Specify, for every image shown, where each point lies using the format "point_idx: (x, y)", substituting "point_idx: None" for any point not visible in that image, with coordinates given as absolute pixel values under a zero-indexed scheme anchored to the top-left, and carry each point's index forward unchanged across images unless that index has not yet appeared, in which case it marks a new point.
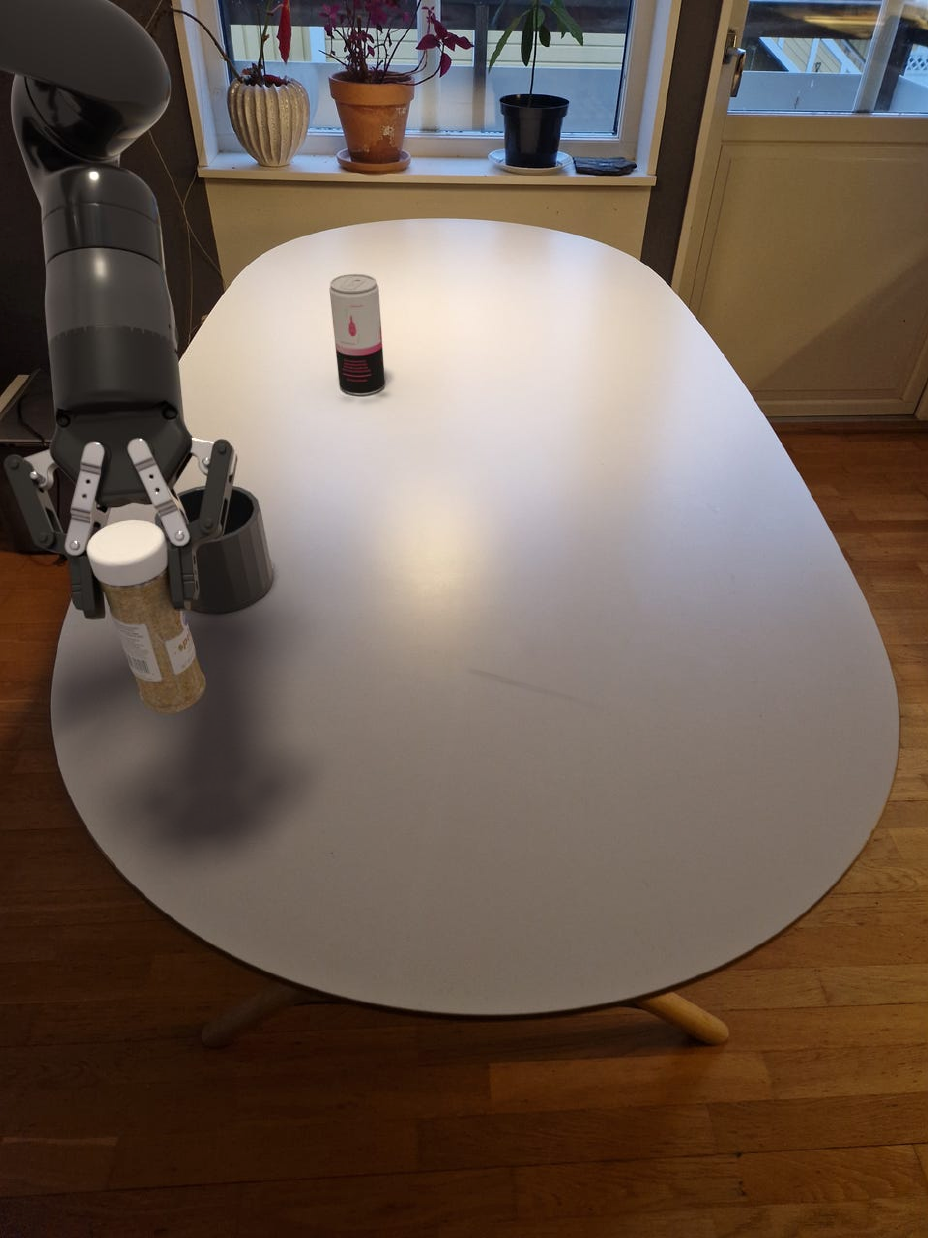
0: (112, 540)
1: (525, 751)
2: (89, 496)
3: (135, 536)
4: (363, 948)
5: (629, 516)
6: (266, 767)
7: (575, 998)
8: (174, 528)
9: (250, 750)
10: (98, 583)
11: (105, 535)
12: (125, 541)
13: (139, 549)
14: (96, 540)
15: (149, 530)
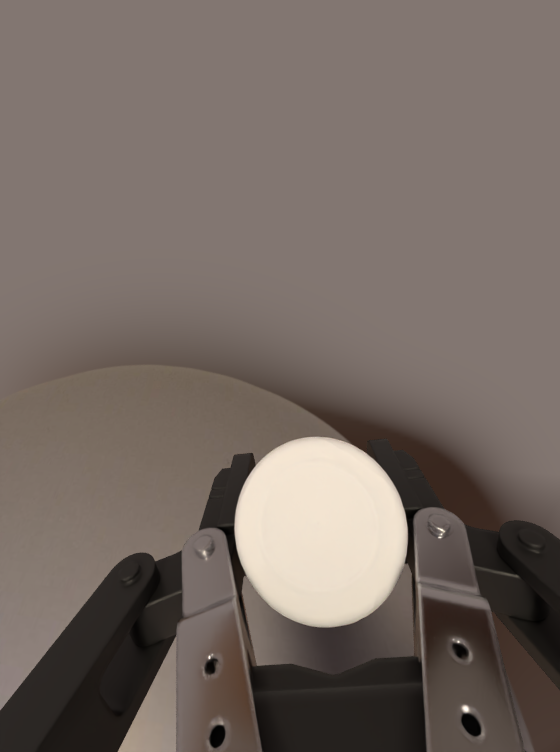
0: (346, 521)
1: (77, 549)
2: (441, 649)
3: (296, 534)
4: (212, 397)
5: None
6: None
7: (111, 368)
8: (209, 562)
9: None
10: None
11: (369, 543)
12: (314, 513)
13: (275, 477)
14: (386, 524)
15: (266, 557)
